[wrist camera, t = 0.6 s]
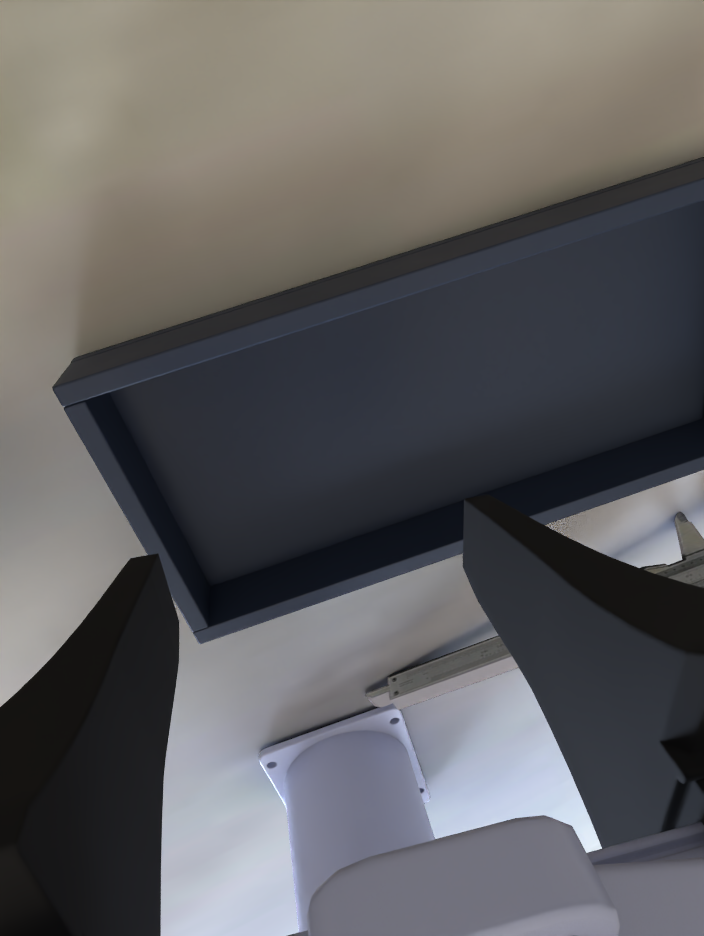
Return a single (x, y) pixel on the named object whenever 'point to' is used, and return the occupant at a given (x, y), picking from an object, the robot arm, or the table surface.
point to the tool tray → (407, 402)
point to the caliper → (492, 655)
